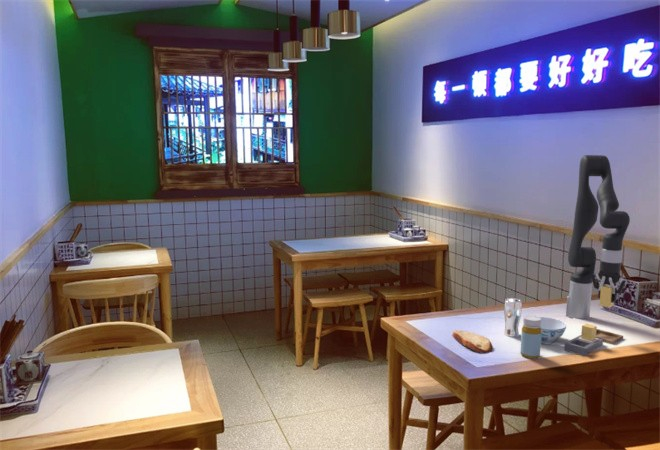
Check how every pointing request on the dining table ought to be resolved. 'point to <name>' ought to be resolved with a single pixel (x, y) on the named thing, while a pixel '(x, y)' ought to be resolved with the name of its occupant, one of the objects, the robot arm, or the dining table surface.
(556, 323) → the chinaware
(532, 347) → the bottle
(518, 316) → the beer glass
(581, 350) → the butter dish
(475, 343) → the slice of bread
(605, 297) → the butter block
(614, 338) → the tray
